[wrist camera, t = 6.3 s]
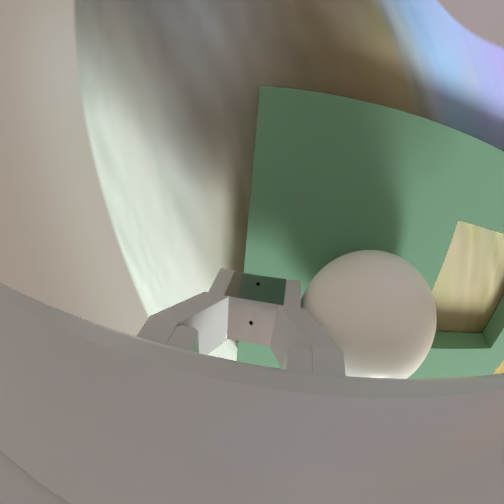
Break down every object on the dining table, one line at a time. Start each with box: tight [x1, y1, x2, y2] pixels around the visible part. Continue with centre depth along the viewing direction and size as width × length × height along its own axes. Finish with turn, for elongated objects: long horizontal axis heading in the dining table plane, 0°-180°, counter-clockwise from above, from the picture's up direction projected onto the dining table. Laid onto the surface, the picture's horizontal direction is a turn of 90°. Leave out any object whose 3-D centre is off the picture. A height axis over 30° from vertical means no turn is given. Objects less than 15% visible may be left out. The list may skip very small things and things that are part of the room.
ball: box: [301, 250, 437, 379], centre depth 9 cm, size 5×5×5 cm
